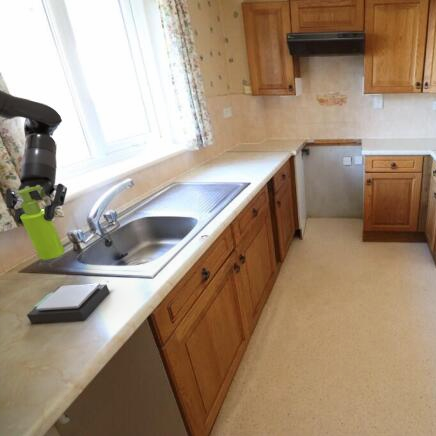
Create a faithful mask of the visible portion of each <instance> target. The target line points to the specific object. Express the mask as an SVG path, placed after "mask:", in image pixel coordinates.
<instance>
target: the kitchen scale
mask: <svg viewBox="0 0 436 436" xmlns="http://www.w3.org/2000/svg"><path fill="white" fill-rule="evenodd" d="M109 294H110V289H109V287H108V285H107V284H105V283H104V284H103V283H102V284H100V283H86V284H69V285H67V284H66V285H61V286H59V287H57V288H56V289H55V290H54V291H52V292H49V293H48V294H46V296H44V297H43V298H42V299H41V300H39V301H38V302H37V303H36V304H35V305H34V306H33V309H32V310H30V311H29V312H28V313H27V314H26V317H27V318H28V320H29V322H30V324H46V323H47V324H48V323H61V322H62V323H63V322H65V323H66V322H75V321H76V322H78V321H79V322H81V321H85V320H86V319H88V318H89V316H90V315H91V313H92V312H94V311H95V309H96V308H97V307H98V306H99V305H100V304H101V303H102V302H103V301H104V300H105V298H106V297H107V296H108V295H109Z"/></svg>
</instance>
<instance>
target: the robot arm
mask: <svg viewBox="0 0 436 436" xmlns="http://www.w3.org/2000/svg"><path fill="white" fill-rule="evenodd" d="M0 118H2V119H5V120H12V119H15V118H23V119H25V120H24V124H23V132H24V137H25V142H24V150H23V155H22V157H21V158H22V159H21V165H20V166H21V167H20V176H19V182H20V185H19V186H18V188H14V189H11V188H7V189H6V190H5V202H6V203H5V204H6V209H7V208H8V209H9V210H11V211H13V212H14V222H16V223H17V224H19V225H24V224H23V222H22V220H21V218H20V216H21V215H23V214H25V212H24V210H23V208H22V206H21V203H22V202H23V201H24V200H23V198H22V196H21V195H19V194H16V192H17V191H20V190H22V189H26V188H30V187H43V188H42V189H39V190H34V191H31V192H29V194H30V196H31V198H32V199H34V200H37V202H39V201H43V202H44V204H45V205H46V206H44V210H45V213H44V219H45V220H47V221H52V222H53V219H54V218H55V212H56V211H55V210H56V208H57V207H63V205H64V203H65V199H66V197H67V196H66V195H67V191H68V187H67V186H66V185H64V184H63V183H57V184H56V178H57V177H56V176H57V146H58V145H57V140H56V139H55V138H54V132H55V131H56V130H57V129H58V128H59V127H60V126H61V124H62V122H63V117H62V114H61V113H60V112H59V111H58V110H57V109H56V108H54V107H53V106H51V105H48V104H46V103H44V102H39V101H37V100H36V101H35V100H32V99H28V98H23V97H19V96H16V95H13V94H10V93H8V92H7V91H4V90H1V89H0ZM54 192H55V193H54ZM53 193H54V197H52V194H53Z"/></svg>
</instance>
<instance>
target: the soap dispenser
mask: <svg viewBox="0 0 436 436" xmlns="http://www.w3.org/2000/svg"><path fill="white" fill-rule="evenodd" d="M42 188H43V187H30V188H26V189H22V190H20V191H17V192H16V194H19V196H20V195H21V196H22V198H23V200H24V201H23V202H22V203H21V207H22V208H23V210H24V212H25V214H23V215H21V216H20V218H21V220H22V222H23V224H22V225H23V227H24V228H25V230H26V233H27V234H28V236H29V239H30V241H31V243H32V245H33V247H34V249H35V251H36V254H37V256H38V259H40V260H41V261H42V260H44V261H46V260H52V259H55V258H58V257H60V256H62V255H64V253H66V250H65V247H64V246H63V243H62V240H61V238H60V235H59V234H58V231H57V229H56V227H55V225H54V222H53V220H52V221H47V220H45V219H44V213H45V208H44V209H42V208H41V206H40V204H39V201H37V200H34V199H32V198H31V196H30V194H29V192H31V191H34V190H39V189H42Z"/></svg>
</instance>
